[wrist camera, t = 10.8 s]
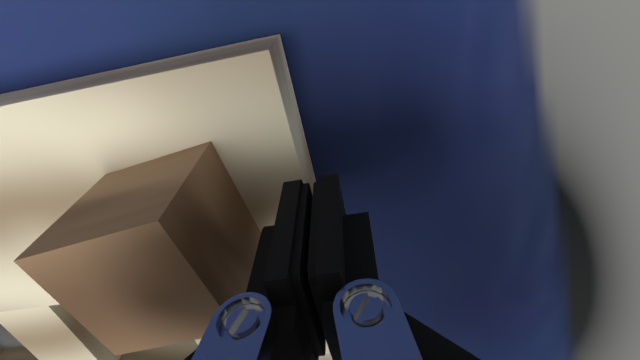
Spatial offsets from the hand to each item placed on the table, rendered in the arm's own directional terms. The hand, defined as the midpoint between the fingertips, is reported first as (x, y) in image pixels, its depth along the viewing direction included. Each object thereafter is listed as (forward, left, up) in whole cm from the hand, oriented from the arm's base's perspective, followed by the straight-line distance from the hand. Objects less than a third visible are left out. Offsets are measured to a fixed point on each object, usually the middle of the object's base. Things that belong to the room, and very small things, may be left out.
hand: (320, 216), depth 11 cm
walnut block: (0, +5, -1) cm, 5 cm away
